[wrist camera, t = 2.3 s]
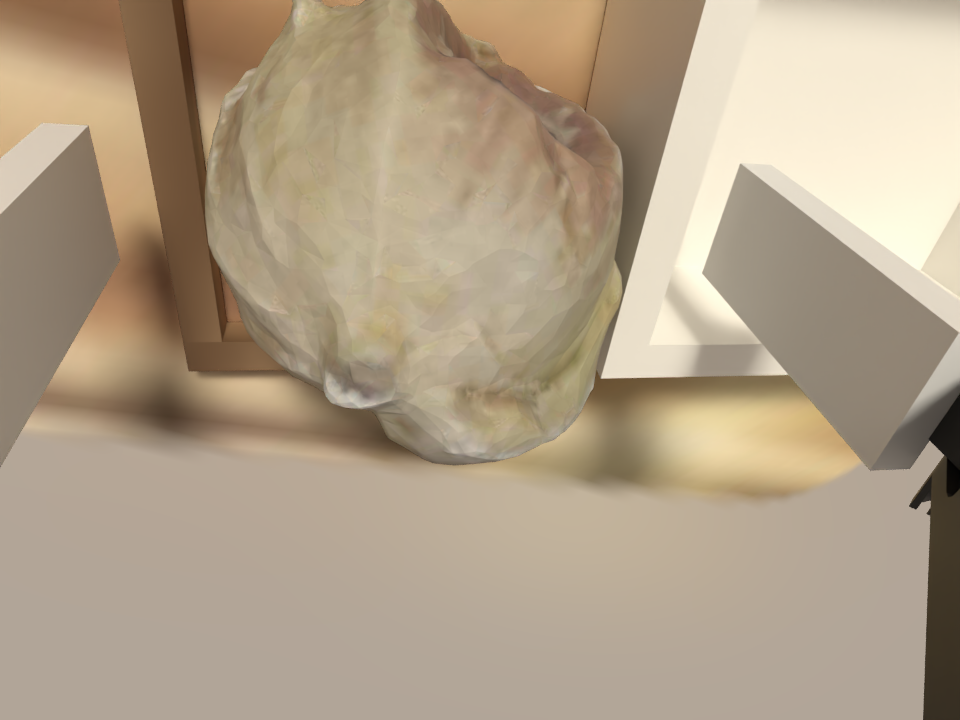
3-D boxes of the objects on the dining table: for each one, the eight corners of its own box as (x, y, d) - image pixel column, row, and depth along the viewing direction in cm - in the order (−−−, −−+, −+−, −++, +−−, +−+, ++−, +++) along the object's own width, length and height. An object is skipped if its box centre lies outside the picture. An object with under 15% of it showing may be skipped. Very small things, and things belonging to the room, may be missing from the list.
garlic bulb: (514, 210, 21) (660, 487, 16) (241, 260, 19) (305, 597, 14) (568, -140, 13) (884, 171, 8) (121, -121, 11) (161, 312, 6)
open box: (551, 280, 20) (600, 378, 16) (672, -323, 12) (817, -403, 9) (914, 284, 23) (1029, 370, 19) (1199, -212, 15) (1487, -235, 11)
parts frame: (194, 350, 19) (188, 371, 19) (89, -241, 12) (71, -247, 11) (581, 346, 22) (591, 365, 21) (703, -146, 14) (725, -146, 13)
